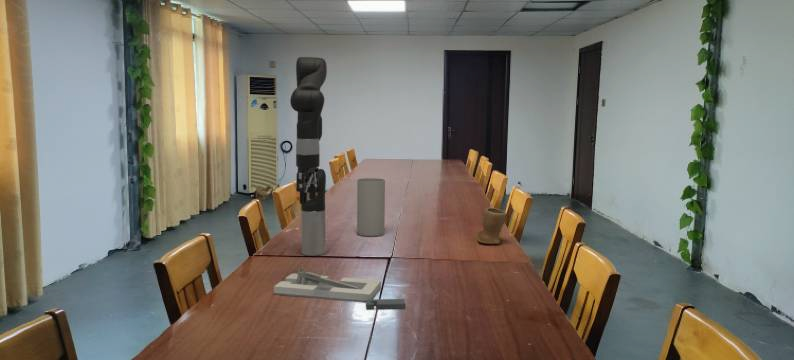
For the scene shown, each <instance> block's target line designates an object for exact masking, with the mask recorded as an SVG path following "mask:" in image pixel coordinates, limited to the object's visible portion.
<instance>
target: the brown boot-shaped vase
mask: <svg viewBox="0 0 794 360" xmlns="http://www.w3.org/2000/svg"><path fill="white" fill-rule="evenodd" d="M506 217H507V214H506V212H505V211H504V210H501V209H500V208H497V207H487V208H485V209H484V211H483V216H482V225H483V230H481V231H477V232H476V235H475V236H476V238H477V240H478V242H479V243H481V244H487V245H498V244H501V237H500V232H501V230H502V228H503V226H504V224H505V222H506V219H507V218H506Z"/></svg>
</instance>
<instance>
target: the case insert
mask: <svg viewBox="0 0 794 360" xmlns="http://www.w3.org/2000/svg"><path fill="white" fill-rule="evenodd" d="M297 276H298V273H295V272H294V273H291V274H289V275H288V276H287V277H285V279H284V281H283V280H281V281H279V282H278V283H277V284H275V285H274V286H273V288H274V289H273V295H276V296H277V295H278V296H288V297H289V296H291V297H298V298H312V299H313V298H314V299H322V300H323V299H324V300H332V301H333V300H335V301H345V302H357V303H366V300H367V299H375V297H376V295H377V294H378V293H379V292H380V290H381V289H382V280H380V279H369V278H368V279H367V278H356V277H344V276H343V277H342V278H341V279H340V280H339V282H342V283H345V284H349V285H352V286H356V287H358V289H349V288H339V287H335V286H331V285H328V284H324V283H320V282H319V284H316V283H312V282H311V281H308V283H307V284H306V285H303V282H304V279H305V278H302V279H301V283H300V284H297ZM321 277H323V278H327V279H329V275H321Z"/></svg>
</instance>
